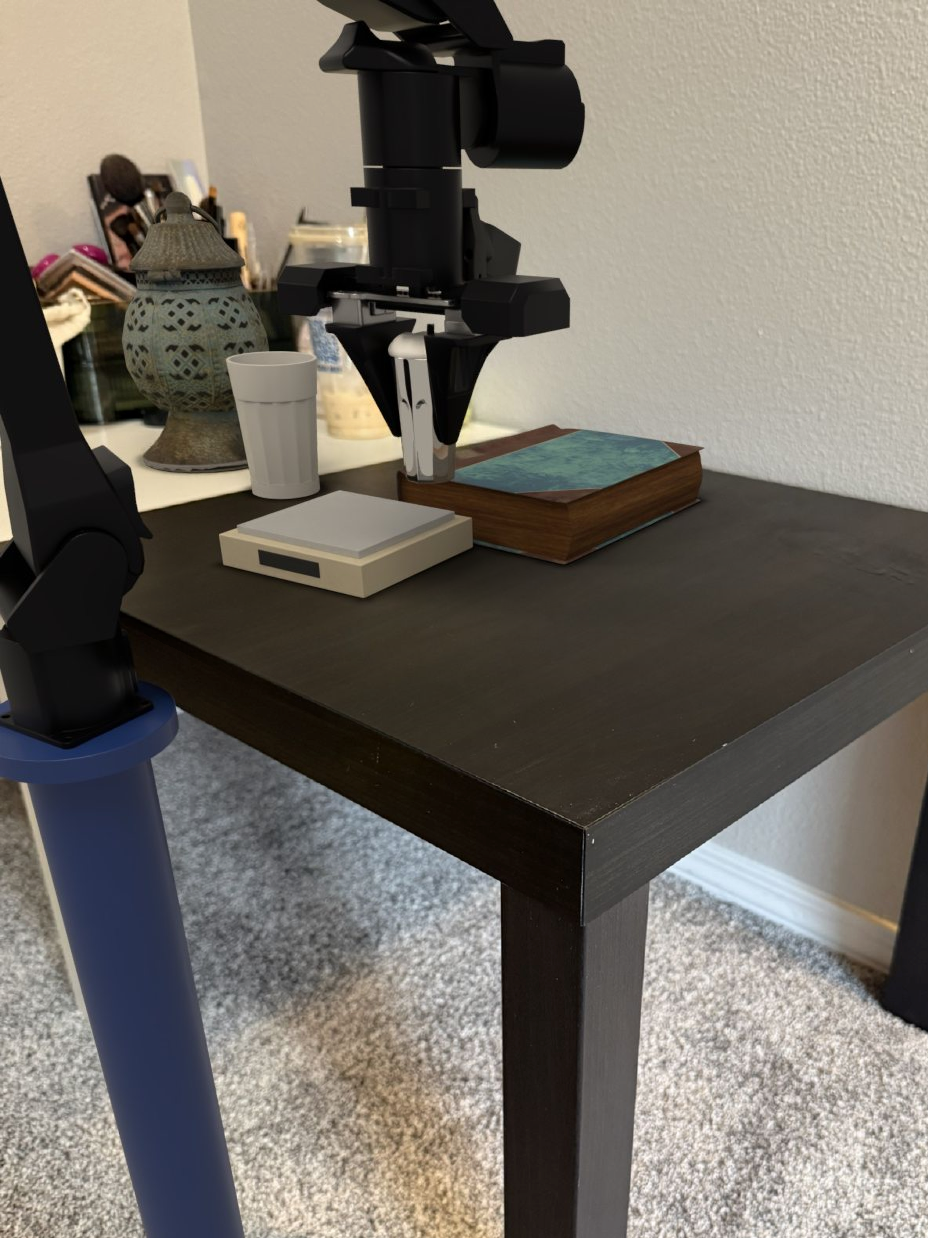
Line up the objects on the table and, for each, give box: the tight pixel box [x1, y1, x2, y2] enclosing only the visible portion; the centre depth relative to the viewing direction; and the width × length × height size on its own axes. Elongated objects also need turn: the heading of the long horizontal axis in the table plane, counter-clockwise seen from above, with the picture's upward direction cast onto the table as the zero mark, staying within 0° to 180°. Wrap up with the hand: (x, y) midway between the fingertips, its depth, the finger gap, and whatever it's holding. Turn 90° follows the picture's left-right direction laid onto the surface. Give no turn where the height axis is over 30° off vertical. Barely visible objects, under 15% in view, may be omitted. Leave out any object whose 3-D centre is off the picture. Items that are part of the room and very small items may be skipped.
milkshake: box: [388, 323, 457, 484], centre depth 69 cm, size 4×5×10 cm
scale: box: [218, 489, 474, 599], centre depth 86 cm, size 14×14×3 cm
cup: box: [226, 350, 321, 500], centre depth 101 cm, size 8×8×12 cm
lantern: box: [121, 191, 270, 474], centre depth 109 cm, size 14×14×25 cm
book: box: [396, 423, 705, 565], centre depth 96 cm, size 23×18×5 cm
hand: (425, 440), depth 71 cm, fingers closed on milkshake, 4 cm apart
